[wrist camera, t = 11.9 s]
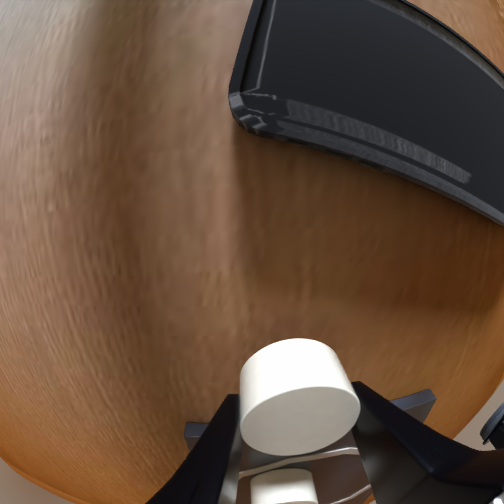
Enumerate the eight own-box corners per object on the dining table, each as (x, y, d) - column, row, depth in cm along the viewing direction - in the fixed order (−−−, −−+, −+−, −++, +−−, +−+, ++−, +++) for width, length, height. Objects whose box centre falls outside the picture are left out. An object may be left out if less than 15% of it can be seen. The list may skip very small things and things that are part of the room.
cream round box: (347, 331, 9) (373, 375, 7) (332, 404, 10) (347, 446, 8) (235, 340, 9) (234, 391, 7) (241, 413, 10) (242, 459, 8)
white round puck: (316, 463, 12) (324, 496, 9) (308, 486, 13) (313, 513, 11) (248, 470, 12) (250, 504, 9) (250, 492, 13) (252, 520, 10)
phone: (269, -46, 5) (530, 103, 6) (267, -30, 6) (517, 104, 7) (219, 126, 7) (522, 237, 8) (222, 133, 8) (508, 232, 9)
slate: (429, 388, 12) (437, 399, 11) (359, 497, 17) (362, 505, 16) (186, 422, 12) (183, 437, 10) (223, 514, 16) (223, 523, 15)
